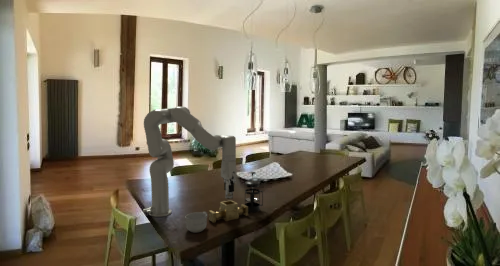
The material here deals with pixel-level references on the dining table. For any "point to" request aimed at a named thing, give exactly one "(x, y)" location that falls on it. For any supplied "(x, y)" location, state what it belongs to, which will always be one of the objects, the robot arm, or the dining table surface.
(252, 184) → the french press
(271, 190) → the dining table surface
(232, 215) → the valve body
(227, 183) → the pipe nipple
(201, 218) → the teacup
